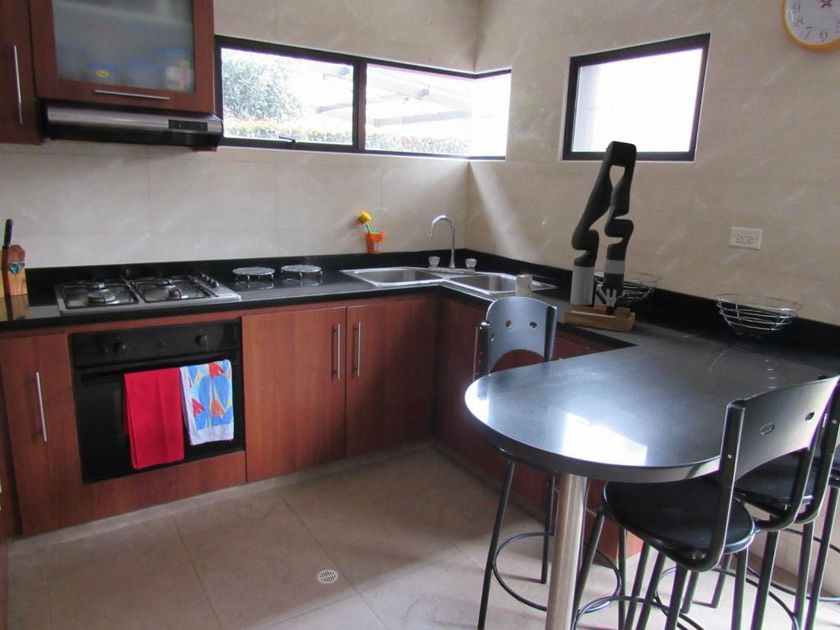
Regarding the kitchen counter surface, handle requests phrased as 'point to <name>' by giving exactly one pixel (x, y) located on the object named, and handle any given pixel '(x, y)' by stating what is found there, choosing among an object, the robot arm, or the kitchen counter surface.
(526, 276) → the blue flashlight
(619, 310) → the block
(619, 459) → the kitchen counter surface
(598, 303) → the skincare box
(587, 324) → the trap tray
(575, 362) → the kitchen counter surface
